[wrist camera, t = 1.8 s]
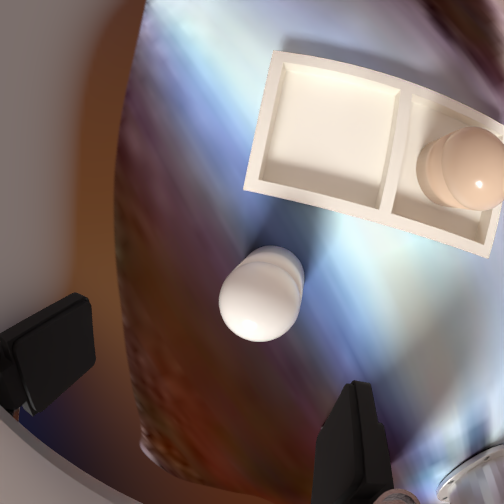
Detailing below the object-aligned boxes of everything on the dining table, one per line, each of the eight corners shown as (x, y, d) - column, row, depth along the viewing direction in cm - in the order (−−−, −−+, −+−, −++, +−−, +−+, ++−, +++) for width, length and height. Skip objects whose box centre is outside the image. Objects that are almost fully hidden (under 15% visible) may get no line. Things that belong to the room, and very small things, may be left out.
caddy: (497, 133, 14) (510, 129, 13) (475, 252, 17) (488, 259, 15) (277, 61, 17) (273, 50, 15) (250, 189, 20) (243, 189, 18)
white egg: (311, 254, 20) (308, 288, 13) (295, 313, 21) (283, 366, 15) (247, 238, 21) (214, 263, 14) (235, 297, 22) (202, 342, 15)
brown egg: (473, 151, 15) (529, 138, 8) (466, 213, 16) (522, 224, 9) (419, 132, 16) (463, 104, 9) (411, 197, 17) (455, 199, 10)
